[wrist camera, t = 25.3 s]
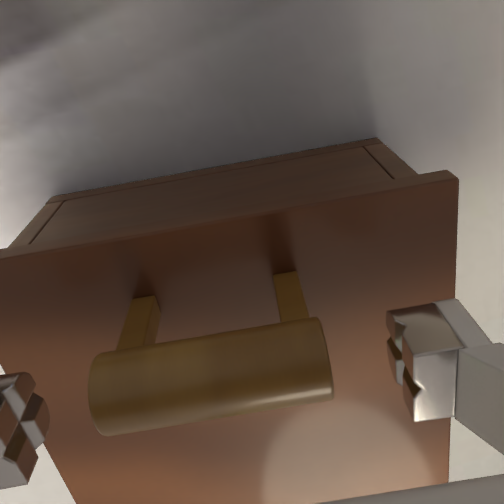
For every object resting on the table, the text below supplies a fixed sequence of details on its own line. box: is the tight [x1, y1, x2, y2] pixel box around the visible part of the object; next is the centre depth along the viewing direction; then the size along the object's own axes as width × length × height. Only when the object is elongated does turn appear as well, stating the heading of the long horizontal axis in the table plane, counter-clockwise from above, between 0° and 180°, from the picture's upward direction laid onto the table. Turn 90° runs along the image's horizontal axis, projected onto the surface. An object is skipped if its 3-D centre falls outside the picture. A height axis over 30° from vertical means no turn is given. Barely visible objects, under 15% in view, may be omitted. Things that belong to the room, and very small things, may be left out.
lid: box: [0, 170, 459, 504], centre depth 14 cm, size 16×14×5 cm
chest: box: [8, 138, 418, 248], centre depth 20 cm, size 15×14×7 cm
